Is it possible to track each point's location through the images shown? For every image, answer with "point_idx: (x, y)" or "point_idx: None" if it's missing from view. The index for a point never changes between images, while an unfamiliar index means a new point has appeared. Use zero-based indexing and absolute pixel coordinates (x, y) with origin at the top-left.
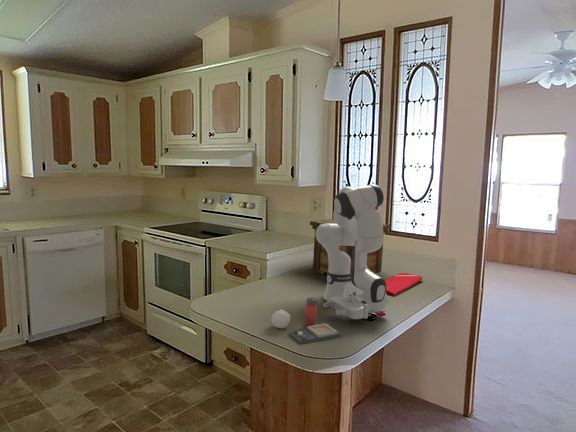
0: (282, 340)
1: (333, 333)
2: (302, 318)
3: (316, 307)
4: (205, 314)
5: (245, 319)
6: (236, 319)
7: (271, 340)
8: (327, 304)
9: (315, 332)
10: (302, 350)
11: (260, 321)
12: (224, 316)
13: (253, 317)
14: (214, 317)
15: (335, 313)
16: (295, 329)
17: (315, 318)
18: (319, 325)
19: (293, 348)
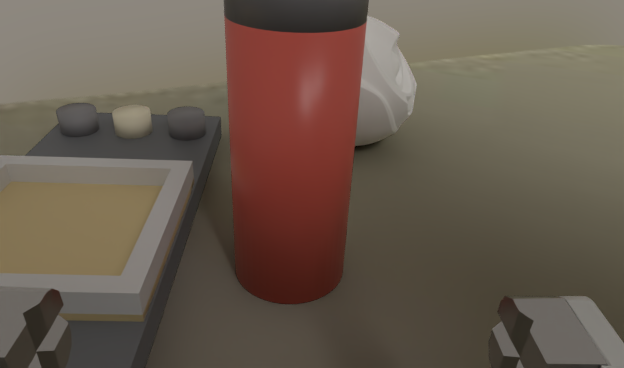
0: (179, 105)
1: None
2: (517, 290)
3: (237, 67)
4: (564, 48)
5: (503, 90)
6: (504, 77)
7: (210, 87)
8: (528, 353)
9: (47, 157)
10: (4, 117)
11: (468, 113)
12: (543, 66)
13: (534, 110)
14: (529, 53)
15: (57, 334)
16: (193, 111)
17: (235, 193)
18: (143, 231)
19: (62, 105)
